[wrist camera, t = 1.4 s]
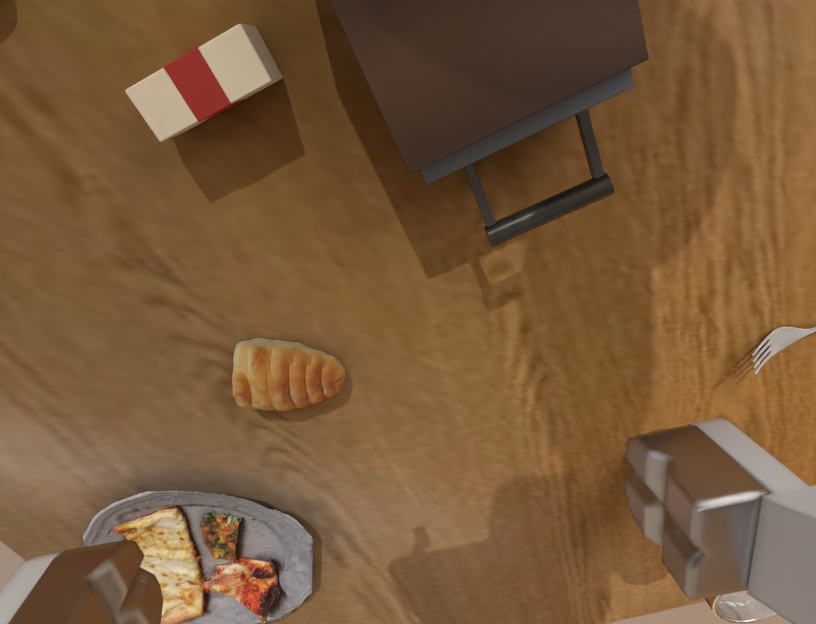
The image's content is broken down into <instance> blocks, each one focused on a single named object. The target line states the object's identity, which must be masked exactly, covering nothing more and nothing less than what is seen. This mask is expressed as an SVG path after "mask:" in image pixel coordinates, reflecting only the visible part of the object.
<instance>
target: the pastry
mask: <svg viewBox="0 0 816 624" xmlns="http://www.w3.org/2000/svg"><path fill="white" fill-rule="evenodd" d="M233 364H234V366H233V374H232V381H233V383H232V387H233V396H234V398H235V399H236V402H237V404H238V405H239V406H240V407H242V408H245V409H249V408H255V409H259V410H266V411H273V410H279V411H288V410H293V409H298V408H303V407H305V406H308V405H313V404H315V403H318V402H321V401H326V400H327V399H329V398H332V397H335V396H336V395H337V394H338V393H339V392H340V391H341V390H342V388H343V386H344V384H345V381H346V370H345V368H344V367H343V365H342V364H341V362H340V361H339V360H338V359H337V358H336V357H335V356H332V355H330V354H329V353H324V352H323V351H321V350H315V349H313V348H310V347H307V346H306V345H305V344H302V343H299V342H289V341H281V340H267V339H261V338H256V339H252V340H246V341H240V342H239V343H238V344H237V345H236V347H235V351H234V358H233Z"/></svg>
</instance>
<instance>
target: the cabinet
mask: <svg viewBox="0 0 816 624" xmlns="http://www.w3.org/2000/svg"><path fill="white" fill-rule="evenodd" d="M329 1H330V3H331V5H332V7H333V9H334V11H335V14H336V16H337V18H338V20H339V22H340V24H341V27H342V29H343V31H344V33H345V35H346V38H347V40H348V42H349V44H350V46H351V48H352V51H353V53H354V55H355V57H356V59H357V62H358V64H359V66H360V68H361V70H362V72H363V75H364V77H365V79H366V81H367V83H368V86H369V88H370V90H371V92H372V94H373V96H374V99H375V101H376V103H377V105H378V107H379V110H380V112H381V114H382V116H383V118H384V120H385V123H386V125H387V127H388V129H389V131H390V134H391V136H392V138H393V140H394V142H395V144H396V147H397V149H398V151H399V153H400V155H401V157H402V160H403V162H404V164H405V166H406V168H407V171H408V173H409V174H411V173H413V172H415V171H417V170H420V169H422V168H424V167H426V166H428V165H430V164H432V163H434V162H436V161H438V160H440V159H442V158H444V157H447V156H449V155H451V154H453V153H455V152H457V151H459V150H461V149H463V148H465V147H467V146H469V145H471V144H473V143H476V142H478V141H480V140H482V139H484V138H486V137H488V136H490V135H492V134H494V133H496V132H498V131H500V130H503V129H505V128H507V127H509V126H511V125H513V124H515V123H517V122H519V121H521V120H523V119H525V118H527V117H530V116H532V115H534V114H536V113H538V112H540V111H542V110H544V109H546V108H548V107H550V106H552V105H554V104H556V103H559V102H561V101H563V100H565V99H567V98H569V97H571V96H573V95H575V94H577V93H579V92H581V91H583V90H586V89H588V88H590V87H592V86H594V85H596V84H598V83H600V82H602V81H604V80H606V79H608V78H610V77H613V76H615V75H617V74H619V73H621V72H623V71H625V70H627V69H629V68H631V67H633V66H635V65H637V64H639V63H642V62H644V61H646V60H647V59H648V53H647V47H646V42H645V37H644V31H643V26H642V21H641V15H640V10H639V5H638V0H329Z"/></svg>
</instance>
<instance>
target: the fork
mask: <svg viewBox="0 0 816 624" xmlns="http://www.w3.org/2000/svg"><path fill="white" fill-rule="evenodd" d="M814 332H816V327H814V328H810V329H800V328H794V327H780V328H777V329H775V330H774V331H772V332H771V333H770V334H769V335H768V336H767V337H766V338H765V339H764V340H763V341H762V342H761V344H760V345H759V346H758V347H757V349H756V350H755V351H754V352H753V354H752V356H755V354H756V353H757V351H758V350H759V349H760V348H761V347H762V346H763V345H764V344H765V343H766V342H767V341H768V340H769V341H768V342H767V344H766V345H765V346H764V347H763V348H762V349H761V350H760V352H759V353H758V354H757V355H756V357H755V358H754V360H753V361H752V362H755V361H756V360H757V358H758V357H759V356H760V355H761V354H762V352H763V351H764V350H765V349H766V348H767V347H768V346H770V347H769V348H768V349H767V350H766V351H765V352H764V354H763V355H762V356H761V357H760V358H759V360H758V361H757V362H756V364H755V365H754V367H753V368H756V367H757V365H758V364H759V363H760V362H761V360H762V359H763V358H764V357H765V356H766V355H767V354H768V353H769V352H770V351H771V352H770V353H769V355H768V356H767V357H766V358H765V359H764V360H763V361H762V363H761V364H760V365H759V366H758V368H757V369H756V370H755V372H754V374H757V372H758V371H759V369H760V368H761V367H762V366H763V365H764V364H765V362H766V361H767V360H768V359H769V358H770V357H772V356H773V355H774V354H776V353H777V352H779V351H780V350H782V349H784V348H785V347H787V346H789V345H790V344H792V343H794V342H795V341H797V340H799V339H801V338H803V337H804V336H806V335H809V334H811V333H814Z"/></svg>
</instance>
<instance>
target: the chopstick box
mask: <svg viewBox="0 0 816 624" xmlns="http://www.w3.org/2000/svg"><path fill="white" fill-rule="evenodd" d="M282 78H283V76H282V75H281V73H280V71H279V69H278V67H277V65H276V63H275V61H274V60H273V58H272V56H271V54H270V52H269V50H268V48H267V47H266V45H265V43H264V41H263V39H262V37H261V35H260V33H259V32H258V30H257V28H256V27H255V26H250V25H245V24H238V25H236V26H234V27H233V28H231V29H229V30H228V31H226V32H224V33H222V34H221V35H219V36H217V37H215V38H214V39H212V40H210V41H209V42H207V43H205V44H203V45H202V46H200V47H196V48H194V49H192V50H191V51H189V52H187V53H186V54H184V55H182V56H180V57H179V58H177V59H175V60H174V61H172V62H170V63H168V64H167V65H165V66H164V68H162V69H160V70H159V71H157V72H155V73H154V74H152V75H150V76H148V77H147V78H145V79H143V80H142V81H140V82H138V83H136V84H135V85H133V86H131V87H130V88H128V89H126V90H125V92H126V93H127V95H128V96H129V98H130V99H131V101H132V102H133V104H134V105H135V106H136V108H137V109H138V111H139V112H140V114H141V115H142V117H143V118H144V119H145V121H146V122H147V124H148V125H149V127H150V128H151V130H152V131H153V132H154V134H155V135H156V137H157V138H158V140H159V141H160V142H162V141H165V140H167V139H170V138H172V137H175V136H177V135H180V134H182V133H184V132H186V131H188V130H189V129H191V128H193V127H195V126H197V125H199V124H200V123H202V122H204V121H206V120H208V119H210V118H211V117H214V116H216V115H219V114H220V113H222V112H224V111H226V110H228V109H230V108H231V107H233V106H235V105H237V104H239V103H241V102H242V101H244V100H246V99H247V98H248V97H250V96H251V95H253V94H255V93H257V92H259V91H261V90H262V89H264V88H266V87H268V86H270V85H272V84H273V83H275V82H277V81H279V80H281V79H282Z"/></svg>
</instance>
